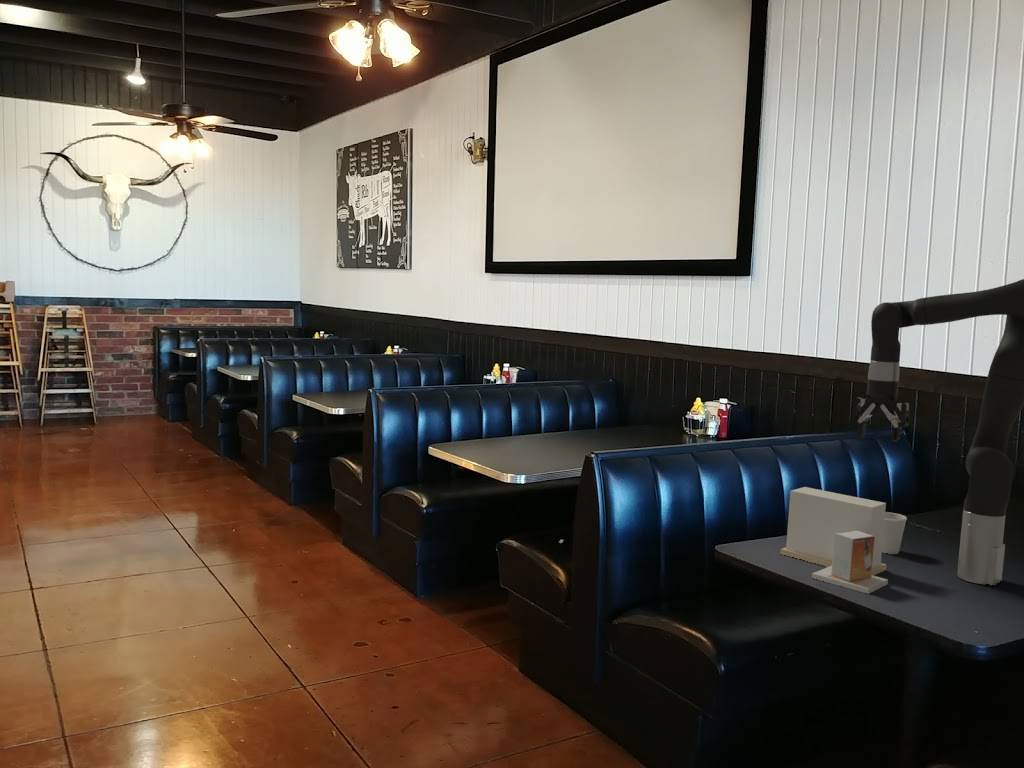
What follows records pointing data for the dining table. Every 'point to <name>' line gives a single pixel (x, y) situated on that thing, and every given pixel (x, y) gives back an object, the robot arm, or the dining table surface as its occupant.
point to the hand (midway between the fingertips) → (878, 439)
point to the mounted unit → (831, 524)
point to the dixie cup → (893, 532)
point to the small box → (852, 555)
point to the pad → (858, 585)
